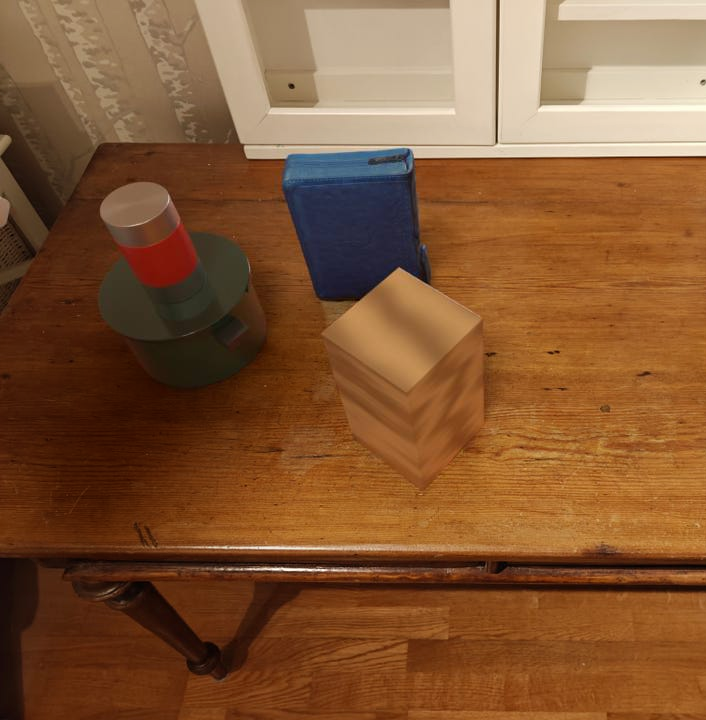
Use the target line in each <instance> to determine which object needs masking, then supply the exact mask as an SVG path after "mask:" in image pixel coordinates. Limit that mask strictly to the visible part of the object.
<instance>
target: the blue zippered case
mask: <svg viewBox="0 0 706 720" xmlns="http://www.w3.org/2000/svg"><path fill="white" fill-rule="evenodd" d="M284 162H285V165H284V169H283V170H282V182H281V189H282V193H283V196H284V198H285V201H286V204H287V208H288V211H289V214H290V218H291V221H292V224H293V227H294V229H295V233H296V236H297V239H298V242H299V246H300V250H301V252H302V255H303V258H304V262H305V264H306V267H307V271H308V275H309V277H310V282H311V284H312V288H313V291H314V293H315V297H316V298H317V299H318V300H321V301H322V300H326V301H327V300H330V301H341V300H346V301H355V300H361V299H362V298H363V297H364V296H366V295H367V294H368V293H369V292H370V291H372V290H373V289H374V288H375V287H376V286H377V285H379V284H380V283H381V282H382V281H383V280H385V279H386V278H387V277H388V276H389V275H390V274H392V273H393V272H394V271H395V270H396V269H398V268H401V269H402V270H404V271H406V272H407V273H409V274H410V275H412V276H414V277H415V278H417V279H419V280H420V281H422V282H424V283H425V284H427V285H429V286H430V287H431V280H432V279H431V276H432V270H431V264H430V257H429V255H428V249H427V246H426V245H425V244H422V243H421V235H422V234H421V233H422V231H421V226H420V216H419V215H420V214H419V213H420V212H419V204H418V203H419V202H418V191H417V179H416V177H417V173H416V166H415V156H414V152H413V149H411V148H409V147H397V148H389V149H388V148H387V149H378V150H361V151H360V150H359V151H345V152H344V151H343V152H324V153H323V152H321V153H291V154H288V155H287V157H286V158H285V161H284Z"/></svg>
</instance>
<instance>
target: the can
mask: <svg viewBox="0 0 706 720" xmlns="http://www.w3.org/2000/svg"><path fill="white" fill-rule="evenodd" d="M99 216H100V217H101V219H102V221H103V223H104V224H105V226H106V229H108V231H109V233H110V234H111V236H112V239H113V241H114V242H115V244H116V246H117V247H118V249H119V251H120V253H121V254H122V257H123V256H124V258H125V259H126V261H127V263H128V264H129V266H130V268H131V269H132V271H133V273H134V275H135V276H136V278H137V279H138V280H139V282H140V284H141V285H142V287H143V289H144V291H145V292H146V294H147V295H148V297H149V298H150V299H152V300H153V301H155V302H158V303H162V304H174V303H179V302H182V301H185V300H187V299H189V298H191V297H192V296H194V295H195V294H197V293H198V292H199V291H200V290H201V288H202V287H203V285H204V283H205V280H206V273H205V270H204V268H203V266H202V264H201V262H200V260H199V258H198V255H197V252H196V250H195V248H194V246H193V244H192V242H191V239H190V237H189V235H188V233H187V232H188V230H187V228H186V226H185V224H184V223H183V220H182V218H181V216H180V214H179V212H178V210H177V208H176V207H175V204H174V202H173V200H172V198H171V196H170V194H169V192H168V190H167V189H166V188H165V187H164V186H163V185H160V184H158V183H155V182H152V181H151V182H150V181H139V182H138V181H137V182H132V183H128V184H126V185H123V186H121V187H118V188H116V189H115V190H113V191H112V192H110V193H109V194H108V195H107V196H105V198H104V199H103V201H102V202H101V203H100V207H99Z"/></svg>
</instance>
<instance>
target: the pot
mask: <svg viewBox="0 0 706 720" xmlns="http://www.w3.org/2000/svg"><path fill="white" fill-rule="evenodd" d="M187 233H188V235H189V237H190V239H191V242H192V244H193V246H194V248H195V250H196V252H197V255H198V258H199V260H200V262H201V264H202V266H203V268H204V270H205V273H206V280H205V283H204V285H203V287H202V288H201V290H200V291H199V292H198V293H197V294H195V295H194V296H192V297H191V298H189V299H187V300H185V301H182V302H179V303H174V304H162V303H158V302H155V301H153V300H152V299H150V298H149V297H148V295H147V294H146V292H145V291H144V289H143V287H142V285H141V284H140V282H139V280H138V279H137V278H136V276H135V275H134V273H133V271H132V269H131V268H130V266H129V264H128V263H127V261H126V259H125V258H124V256H123V255H122V256H121V257H120V258H119V259H118V260H117V261H116V262H115V263H114V264H113V265H112V267H111V268H109V270H108V271H107V272H106V274H105V276H104V278H103V279H102V282H101V284H100V287H99V291H98V295H97V305H98V309H99V313H100V315H101V317H102V319H103V320H104V322H105V323H106V324H107V326H108V327H109V328H110V330H112V331H113V332H114V333H116V334H117V335H118V336H120V337H121V338H122V339H123V341H124V343H126V345H127V346H128V348H129V349H130V351H131V352H132V354H133V355H134V357H135V358H136V360H137V362H138V363H139V364H140V366H141V367H142V368H143V370H144V371H145V372H146V373H147V374H148V375H149V376H150V377H151V379H154V380H155V381H157V382H159V383H160V384H163V385H166V386H170V387H174V388H181V389H182V388H183V389H191V388H192V389H194V388H201V387H207V386H210V385H214V384H217V383H220V382H222V381H224V380H227V379H228V378H231V377H232V376H234V375H236V374H237V373H239V372H240V371H242V370H243V369H245V368H246V367H247V366H248V365H249V364H250V363H251V362H252V361H253V360H254V359H255V357H256V356H257V355H258V353H259V352H260V350H261V349H262V347H263V345H264V343H265V339H266V337H267V333H268V321H267V317H266V314H265V311H264V309H263V307H262V304H261V301H260V299H259V297H258V294H257V292H256V289H255V286H254V284H253V281H252V268H251V265H250V262H249V259H248V257H247V255H246V254H245V252H244V250H243V249H242V248H241V247H240V246H239V245H238V244H236V243H235V242H234V241H233V240H231V239H230V238H227V237H225V236H222V235H221V234H217V233H213V232H207V231H196V230H192V231H191V230H190V231H189V230H187Z"/></svg>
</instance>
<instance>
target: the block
mask: <svg viewBox="0 0 706 720" xmlns="http://www.w3.org/2000/svg"><path fill="white" fill-rule="evenodd" d="M320 335H321V339H322V343H323V345H324V348H325V353H326V355H327V358H328V362H329V364H330V368H331V371H332V374H333V378H334V380H335V384H336V388H337V390H338V394H339V397H340V400H341V403H342V407H343V410H344V413H345V416H346V420H347V422H348V426H349V430H350V432H351V436H352V438H353V440H355V441H356V442H357V443H358V444H360V445H361V446H362V447H364V448H365V449H366V450H368V451H369V452H370V453H372V454H373V455H375V457H377V458H378V459H379V460H381V461H382V462H384V463H385V464H387V465H388V466H389V467H390V468H391V469H392V470H394V471H395V472H397V473H398V474H400V475H401V476H402V477H404V478H405V479H406V480H408V481H409V482H410V483H412V484H413V485H414V486H415V487H417V488H418V489H419V490H421V491H423V492H424V491H425V490H426V489H427V488H428V487H429V486H430V485H431V484H432V482H433V481H435V479H436V478H438V476H439V475H440V474H441V473H442V472H443V470H445V469H446V468H447V466H448V465H449V464H450V463H451V462H452V461H453V459H455V458H456V456H457V455H458V454H459V453H460V452H461V451H462V450H463V449H464V448H465V447H466V445H468V443H469V442H470V441H471V440H472V439H473V438H474V437H475V436H476V435H477V433H478V432H479V431H480V430H481V429H482V428H483V427H484V426H485V386H484V385H485V384H484V383H485V380H484V377H485V376H484V375H485V374H484V373H485V371H484V318H483V317H482V316H480V315H478V314H477V313H475V312H474V311H472V310H470V308H469V309H468V308H467V307H465V306H463V305H462V304H460V303H459V302H457V301H456V300H454V299H452V298H450V297H449V296H446V295H445V294H444V293H442V292H441V291H438V290H437V289H435V288H434V287H432V286H431V285H430V286H429V285H427V284H425V283H424V282H422V281H420V280H419V279H417V278H415V277H414V276H412V275H410V274H409V273H407V272H406V271H404V270H402V269H401V268H398V269H396V270H395V271H394V272H393V273H392V274H390V275H389V276H388V277H387V278H386V279H385V280H383V281H382V282H381V283H380V284H379V285H377V286H376V287H375V288H374V289H373V290H372V291H370V292H369V293H368V294H367V295H366V296H364V297H363V298H362V299H359V301H357V302H356V303H355V304H354V305H353V306H351V307H350V308H349V309H347V310H346V311H345V312H344V313H343V314H342V315H341V316H340V317H338V318H337V319H335V320H334V322H333V323H332V324H330V325H329V326H328V327H326V328H325V329H324V330H323V331H321V333H320Z"/></svg>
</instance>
